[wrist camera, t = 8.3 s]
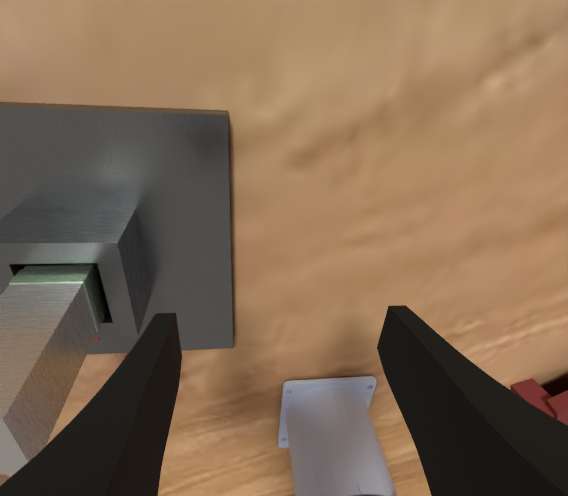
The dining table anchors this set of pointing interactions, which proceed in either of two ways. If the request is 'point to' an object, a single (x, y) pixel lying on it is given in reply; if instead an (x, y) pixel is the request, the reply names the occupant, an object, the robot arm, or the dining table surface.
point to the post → (42, 352)
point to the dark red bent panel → (543, 399)
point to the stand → (124, 212)
